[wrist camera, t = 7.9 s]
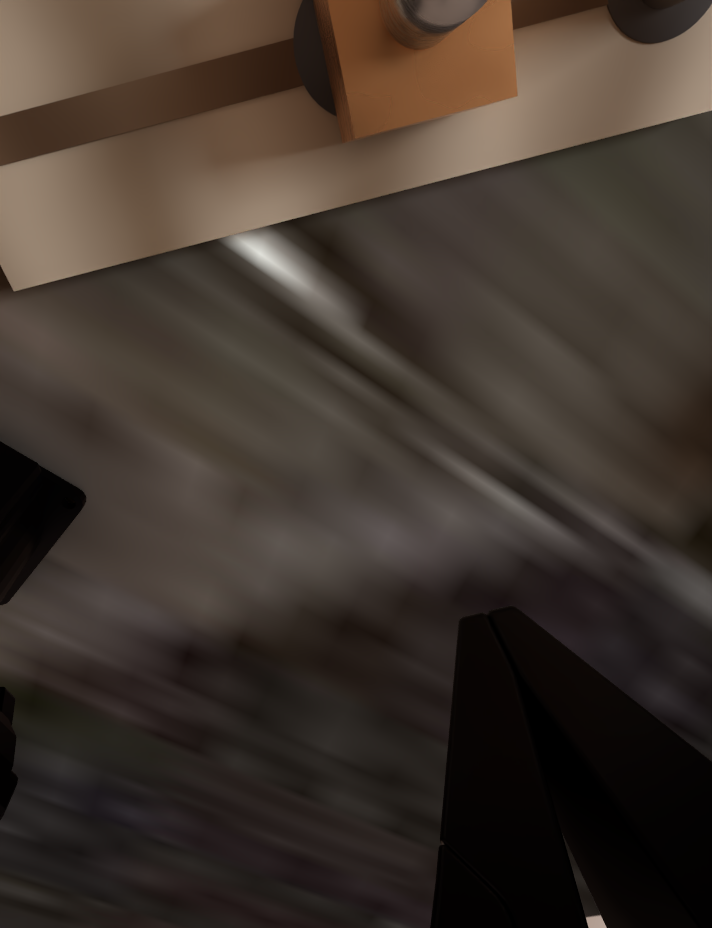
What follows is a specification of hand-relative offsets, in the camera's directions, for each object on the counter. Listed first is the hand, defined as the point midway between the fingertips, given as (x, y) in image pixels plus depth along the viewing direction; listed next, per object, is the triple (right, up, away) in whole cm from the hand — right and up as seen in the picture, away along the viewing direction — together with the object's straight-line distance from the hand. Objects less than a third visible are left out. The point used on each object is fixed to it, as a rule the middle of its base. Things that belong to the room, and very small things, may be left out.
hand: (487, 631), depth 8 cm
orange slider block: (-1, +13, +5) cm, 14 cm away
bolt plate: (-3, +14, +7) cm, 16 cm away
